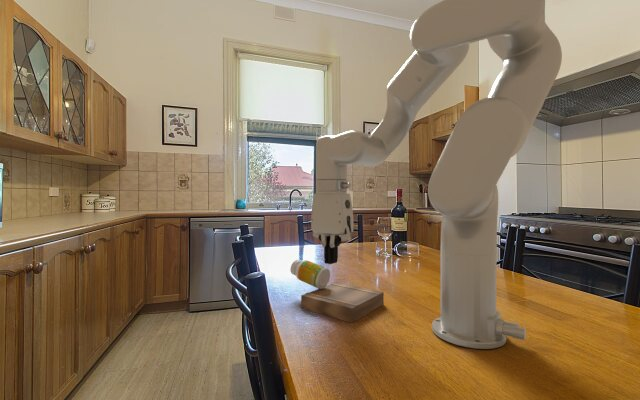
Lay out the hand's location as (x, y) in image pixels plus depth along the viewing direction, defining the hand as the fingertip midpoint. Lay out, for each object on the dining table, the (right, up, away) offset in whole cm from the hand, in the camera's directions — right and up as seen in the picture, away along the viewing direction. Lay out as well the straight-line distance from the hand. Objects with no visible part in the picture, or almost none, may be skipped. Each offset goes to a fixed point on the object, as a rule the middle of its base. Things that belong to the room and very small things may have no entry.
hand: (330, 262), depth 76 cm
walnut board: (+3, -10, -2) cm, 11 cm away
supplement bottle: (-1, -4, +1) cm, 5 cm away
